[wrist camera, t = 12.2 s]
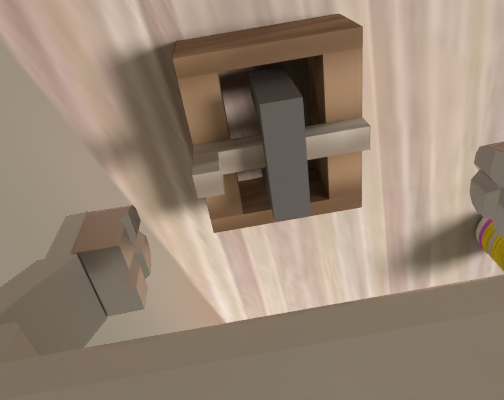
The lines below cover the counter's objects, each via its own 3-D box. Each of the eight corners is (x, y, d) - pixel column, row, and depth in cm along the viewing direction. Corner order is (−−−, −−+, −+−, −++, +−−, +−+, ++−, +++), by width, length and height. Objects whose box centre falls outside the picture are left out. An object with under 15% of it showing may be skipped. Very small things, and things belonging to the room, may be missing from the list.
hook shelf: (176, 41, 35) (167, 78, 26) (339, 13, 35) (388, 41, 26) (212, 198, 44) (215, 269, 35) (343, 176, 44) (381, 239, 35)
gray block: (248, 72, 35) (259, 104, 28) (283, 66, 35) (302, 97, 29) (262, 174, 41) (274, 221, 34) (292, 169, 41) (311, 215, 34)
